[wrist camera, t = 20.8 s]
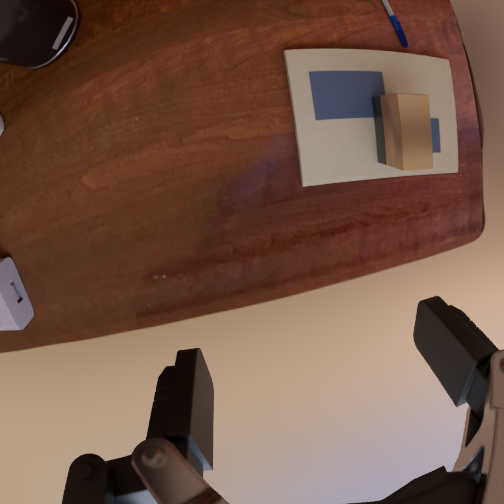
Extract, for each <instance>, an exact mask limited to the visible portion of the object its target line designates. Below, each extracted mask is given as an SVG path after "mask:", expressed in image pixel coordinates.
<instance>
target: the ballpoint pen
mask: <svg viewBox="0 0 504 504" xmlns="http://www.w3.org/2000/svg"><path fill="white" fill-rule="evenodd" d="M382 2H383V4H384V6H385V8H386V10H387V12H388V14H389V16H390V19H391V21H392V23H393V26H394V27H395V30H396V32H397V34H398V36H399V39H400V41H401V43H402V45H403V46H404V47H405V48H406V47H408V42H407V40H406V37H405V34H404V32H403V30H402V28H401V25H400V23H399V21H398V20H397V19H396V16H395V15H394V13H393V11H392V9H391V7H390V5H389V3H388V1H387V0H382Z"/></svg>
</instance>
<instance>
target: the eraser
mask: <svg viewBox="0 0 504 504" xmlns="http://www.w3.org/2000/svg"><path fill="white" fill-rule="evenodd" d="M371 98H372V106H373V114H374V123H375V133H376V145H377V158H378V163H381V164H384V165H388V166H391V167H394V168H397V169H400V170H403V171H406V170H420V169H433V149H432V132H431V119H430V109H429V99H428V95H423V94H406V93H395V94H387V95H381V96H374V97H371Z"/></svg>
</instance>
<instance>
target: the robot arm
mask: <svg viewBox="0 0 504 504" xmlns="http://www.w3.org/2000/svg"><path fill="white" fill-rule="evenodd" d="M79 24H80V10H79V7H78V5H77V4H76V2H75V1H73V0H0V63H3V64H10V65H16V66H22V67H24V68H28V69H40V68H44V67H46V66H48V65H50V64H52V63H53V62H55V61H56V60H57V59H58V58H59V57H60V56H62V55H63V53H64V52H65V51H66V50H67V49H68V47H69V46H70V45H71V43H72V41H73V40H74V38H75V36H76V34H77V31H78V28H79ZM413 337H414V342H415V345H416V347H417V349H418V350H419V352H420V353H421V355H422V356H423V357H424V359H425V360H426V362H427V363H428V365H429V366H430V368H431V369H432V371H433V372H434V374H435V375H436V377H437V378H438V379H439V381H440V382H441V384H442V386H443V387H444V388H445V390H446V392H447V393H448V395H449V396H450V398H451V399H452V401H453V402H454V404H455V406H456V407H458V406H460V405H462V404H464V403H466V402H467V403H468V404H469V408H468V410H467V416H466V422H465V429H464V435H463V441H462V445H461V451H460V454H459V457H458V459H457V461H456V463H455V465H454V468H453V471H452V472H447V471H446V469H445V467H444V466H442V467H440V468H438V469H436V470H434V471H432V472H429V473H427V474H425V475H423V476H420V477H418V478H416V479H414V480H412V481H411V482H409V483H408V484H406V485H405V486H403V487H402V488H400V489H399V490H397V491H396V492H394V493H393V494H391V495H390V496H388V497H387V498H385V499H383V500H380V501H374V502H363V503H350V504H504V349H503V350H499V349H498V348H497V347H496V346H495V345H494V344H493V343H492V342H491V341H490V340H489V338H487V336H486V335H485V334H484V333H483V332H482V331H481V330H480V329H479V328H478V327H476V325H475V324H474V323H473V322H472V321H470V318H469V317H467V315H466V314H465V313H464V312H463V311H461V310H459V309H457V308H456V307H454V306H452V305H449V306H448V305H447V304H446V303H445V302H444V301H443V300H442V299H441V298H440V297H439V296H435V297H431V298H428V299H425V300H421V301H420V302H419V304H418V307H417V314H416V321H415V327H414V333H413ZM213 413H214V388H213V383H212V378H211V376H210V373H209V371H208V368H207V365H206V362H205V360H204V357H203V354H202V352H201V350H200V348H194V349H186V350H179V351H178V352H177V357H176V362H175V366H166V367H165V369H164V370H163V372H162V373H161V374H160V376H159V377H158V382H157V386H156V392H155V396H154V402H153V406H152V411H151V416H150V421H149V427H148V432H147V437H146V440H145V441H143V442H141V443H140V444H139V445H137V446H136V448H135V449H134V451H133V453H132V454H131V455H129V456H126V457H122V458H117V459H113V460H109V461H104V460H103V459H102V458H101V457H100V456H98V455H95V454H84V455H81V456H79V457H78V458H76V459H75V460H74V461H73V462H72V464H71V466H70V468H69V472H68V477H67V481H66V485H65V490H64V495H63V500H62V504H229V503H228V502H227V501H226V500H224V498H223V497H222V496H221V495H219V494H218V493H217V492H216V491H215V490H214V489H213V488H212V487H211V486H209V484H208V483H207V482H206V481H205V480H204V479H203V471H204V470H213Z"/></svg>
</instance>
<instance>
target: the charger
mask: <svg viewBox="0 0 504 504" xmlns="http://www.w3.org/2000/svg"><path fill="white" fill-rule="evenodd" d="M33 316H34V312H33V307H32V305H31V302H30V300H29V298H28V296H27V293H26V291H25V289H24V286H23V284H22V281H21V279H20V276H19V274H18V271H17V269H16V266H15V264H14V262H13V260H12V259H11V258H10V257H7V258H2V259H0V330H23V329H24V328H25V326H26V325H27V324H28V323H29V321H30V320H31V319H32V318H33Z"/></svg>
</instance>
